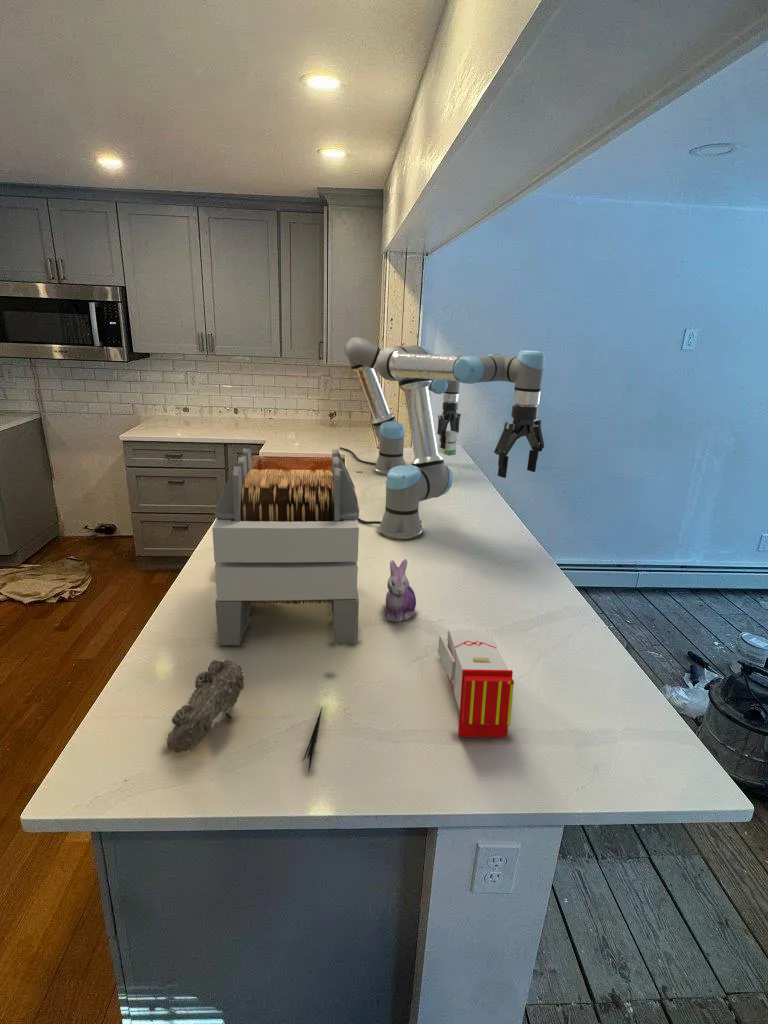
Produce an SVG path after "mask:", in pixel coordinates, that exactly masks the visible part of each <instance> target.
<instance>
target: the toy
mask: <svg viewBox="0 0 768 1024" xmlns="http://www.w3.org/2000/svg"><path fill="white" fill-rule="evenodd" d="M446 640H447V643H446V641H445V639H444V636H443V635H442V634H439V637H438V646H437V656H438V657H439V659H440V661H441V663H442V666H443V668H444V670H445V672H446V674H447V677H448V679H449V681H450V684H451V687H452V690H453V693H454V697H455V701H456V705H457V708H458V711H459V714H458V715H459V716H458V730H457V731H458V732H457V737H458V738H508V731H509V726H510V725H511V717H512V707H513V697H514V696H513V695H514V684H515V680H514V679H513V673H514V671H513V670H512V669H508V667H507V665H506V662H505V661H504V659H503V658H502V655H501V653H500V651H499V649H498V647H497V643H496V639H495V637H494V635H493V634H491V632H490V631H489V629H467V628H466V629H465V628H463V629H461V628H460V629H459V628H448V630H447V639H446Z"/></svg>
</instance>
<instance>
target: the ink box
mask: <svg viewBox="0 0 768 1024" xmlns="http://www.w3.org/2000/svg"><path fill="white" fill-rule="evenodd" d="M445 436H446V444H445V449H443V448H440V447H441V442H440V437H441V436H440V435H439V434H438V445H437V449H438V454H442V455H444V456H449V457H450V456H457V455H456V453H457V439H458V433H457V432H454V431H451V429H448V428H447V429H446V433H445Z"/></svg>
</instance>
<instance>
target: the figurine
mask: <svg viewBox="0 0 768 1024" xmlns="http://www.w3.org/2000/svg"><path fill="white" fill-rule="evenodd" d="M407 567H408V559H406V558H404V559H403V560H402V561H401V563H400V565H399V566H398V565H397V563H396V562H395V561H394V560H393V559H391V560H390V561H389V570H390V576H389V578H388V579H387V589H388V591H387V592H386V594H385V595H386V596H385V607H384V615H385V616H386V620H387V621H391V622H395V623H400V622H402V621H406V620H409V619H410V618H411V617H413V616H414V615H415V610H416V606H417V597H416V593H415V591H414V590H413V587H411V586H410V582H409V579H408V577H407V574H406V571H407Z"/></svg>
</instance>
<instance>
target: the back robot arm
mask: <svg viewBox="0 0 768 1024" xmlns="http://www.w3.org/2000/svg"><path fill="white" fill-rule="evenodd" d="M381 351H382V349H381V348H380V347H378V346H376V345H375V344H373V343H371V342H370V341H368V340H367V339H366V338H365V337H363V336H359V335H357V336H352V337H350V338H349V339H348V340H347V341H346V343H345V345H344V353H345V356H346V358H347V360H348V362H349V365H350V369H351V370H352V371H354V372H355V373H356V375H357V378H358V380H359V383H360V385H361V388H362V392H363V394H364V397H365V399H366V402H367V404H368V407H369V410H370V412H371V415H372V420H371V424H372V426H373V429H374V434H375V436H376V438H377V440H378V441H379V442H378V443H379V444H378V457H377V460H376V462H372V461H365V460H362V459H360V458H358V457H357V455H356V454H355V453H354V452H353V451H352V450H350V449H349V448H345V447H339V449H340V450H343V451H346V452H349V453H350V454H351V455H352V456H353V457H354V458H355V460H356V461H358V462H360V463H363V464H368V465H374V473H376V474H378V475H380V476H381V475H382V476H387V474H388V472H389V470H390V469H392V468H394V467H396V466H400V465H404V466H405V465H406V462H405V459H404V448H405V447H404V446H405V433H406V430H405V426H404V424H403V423H401V422H398V421H397V420H396V415H395V414H394V413H393V412H391V411H390V409H389V406H388V403H387V400H386V397H385V395H384V392H383V389H382V387H381V384H380V380H379V377H378V374H377V372H376V370H375V369H377V368H376V360H377V357H378V355H379V353H380V352H381ZM460 383H461V382H459V381H447V380H434V379H431V384H430V385H429V387H428V391H429V392H433V393H434V394H435V395H442V394H443V397H442V401H443V402H442V413H441V414H438V415H437V419H438V421H437V433H436V434H437V435H438V436H439V435H440V436H441V437H440V442H441V447H440V448H443V449H445V444H446V436H445V433H446V429H447V430H448V425H449V428H450V430H451V431H454V432H457V434H459V432H460V420H461V416H462V414H461V413H458V412H457V411H458V407H459V403H458V402H459V397H460V396H459V395H460V387H461V386H460V385H461V384H460Z"/></svg>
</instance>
